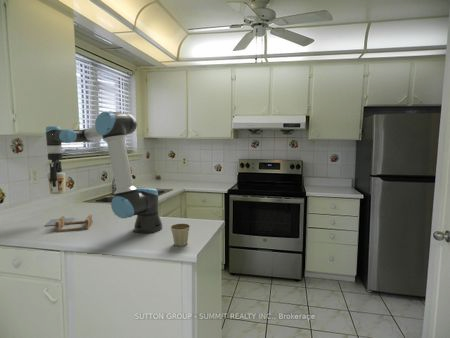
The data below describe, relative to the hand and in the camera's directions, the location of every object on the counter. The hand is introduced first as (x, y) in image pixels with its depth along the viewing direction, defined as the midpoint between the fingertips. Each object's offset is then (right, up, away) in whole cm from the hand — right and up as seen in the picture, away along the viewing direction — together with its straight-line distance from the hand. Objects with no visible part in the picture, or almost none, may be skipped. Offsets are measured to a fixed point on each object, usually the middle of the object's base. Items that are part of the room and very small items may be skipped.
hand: (57, 190), depth 176 cm
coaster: (0, -20, +2) cm, 20 cm away
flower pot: (+79, -23, -35) cm, 89 cm away
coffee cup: (0, -2, 0) cm, 2 cm away
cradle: (+14, -20, -7) cm, 25 cm away
